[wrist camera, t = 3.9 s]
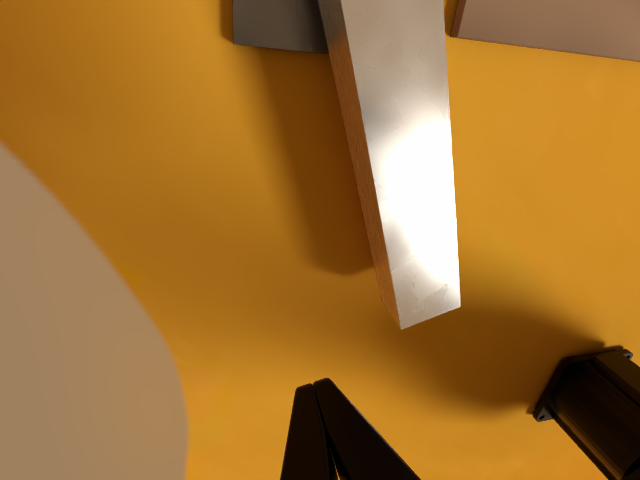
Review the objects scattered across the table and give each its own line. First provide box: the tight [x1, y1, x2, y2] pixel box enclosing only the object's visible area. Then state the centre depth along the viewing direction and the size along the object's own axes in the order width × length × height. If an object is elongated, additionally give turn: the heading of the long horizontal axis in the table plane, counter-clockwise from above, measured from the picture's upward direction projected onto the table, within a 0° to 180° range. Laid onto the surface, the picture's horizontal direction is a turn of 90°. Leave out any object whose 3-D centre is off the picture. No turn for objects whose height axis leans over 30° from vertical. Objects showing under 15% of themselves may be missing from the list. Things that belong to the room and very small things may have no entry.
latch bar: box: [318, 0, 461, 330], centre depth 12 cm, size 16×3×2 cm, turn 14°
